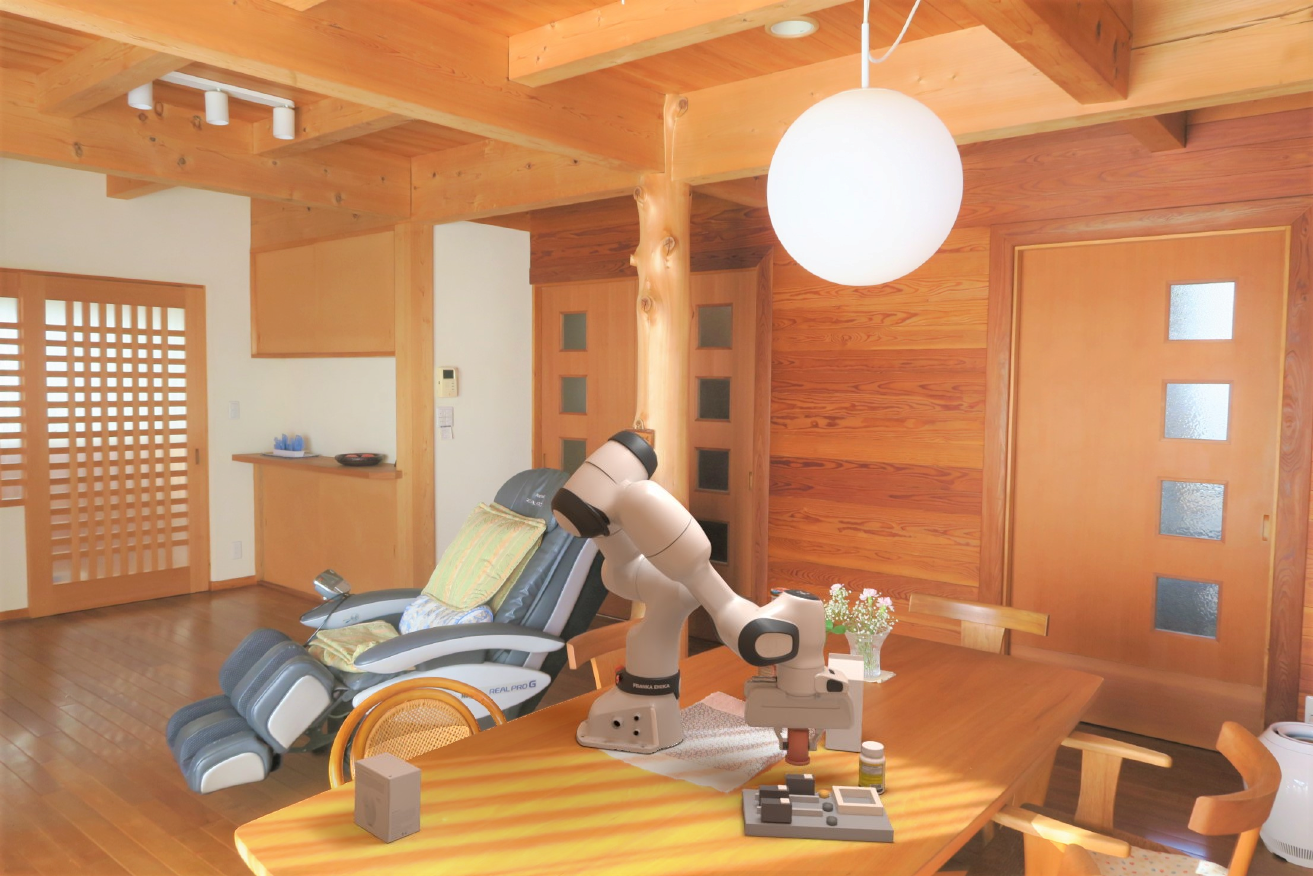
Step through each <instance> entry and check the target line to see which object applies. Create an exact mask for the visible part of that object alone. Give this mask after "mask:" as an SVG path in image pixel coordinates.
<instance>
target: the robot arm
mask: <svg viewBox="0 0 1313 876" xmlns="http://www.w3.org/2000/svg"><path fill="white" fill-rule="evenodd" d="M658 463H659V462H658V456H657V453H656V451H655V450H654V448H653V447H652V446H651V444H650V443H649V442H648V441H647V440H646V439H645V438H644V437H642V436H641V435H640V434H639V433H636V432H635V431H631V430H625V429H624V430H620V431H618V432H617V433H615V434H613V435H612V436H610V437H609V438H608V439H607V441H606V442H605V443H604V444H603V445H601V446H600V447H599V448H598V449H596V450H595V451H593V453H591V454H590V455H589V456H588V457H587V458H586V459H585V460H584V461H583V463H582V464H581V465H580V466H579V467H578V468H577V469H576V471H575V472H574V473H573V474H572V475H571V476H570V477H569V478H568V480H567V481H566V482H565V484H564V485H563V487H559V488H558V490H557V491H556V493H554V496H553V498H552V499H551V501H550V510H551V512H552V515H553V516H554V518H555V521H556V522H557V523H558V525H559V526H560V527H561V528H562V530H564V531H565V532H566V533H568V534H569V535H572V536H574V537H576V538H577V539H582V540H583V539H591V540H592V541H593V542H594V544H595V545H596V546H597V548H598V549H599V552H601V554H602V556H603V557H604V560H603V562H602V565H601V569H600V570H601V571H600V574H601V581H602V584H603V586H604V588H605V589H606V590H608V591H609V592H611V593H613V594H614V595H616V596H619V597H621V598H622V599H625V600H628V601H633V602H637V603H642V604H644V605H645V610H644V615H643V618H642V620H641V621H639V622H637V623H635V624H634V625H632V626H631V627H630V628H629V629H628V631H627V633H626V638H625V666H624V665H623V664H621V663H620V664H618V665H616V666H615V669H614V674H615V681H614V683H615V685H614V686H613V687H611V688H609V689H608V690H607V691H605V692H604V693H602V694H601V695H600V696H598V698H596V699H595V700H594V702H593V703H592V705H591V707H590V709H589V712H588V715H587V719H584V720H583V721H581V722H580V724H579V725H578V728H577V730H576V735H575V736H576V741H577V743H578V744H579V745H580V746H583V747H590V748H591V747H592V748H599V749H606V750H614V749H617V750H616V751H621V750H626V751H625V752H629V751H630V753H637V752H642V753H641V754H646V753H651V754H653V753H652V752H654V753H656V752H658V751H659V749H660V750H662V749H661V748H663V747H667V748H669V747H668V746H671V747H673V746H672V745H674V744H676V743H679V742H680V741H681V740H682V739H683V740H685V737H684V735H685V732H684V729H683V723H682V719H681V711H680V700H679V699H680V696H681V687H682V684H681V683H682V678H681V677H682V676H681V670H680V669H679V661H680V660H679V659H680V657H679V656H680V645H681V644H680V643H681V636H682V630H683V627H684V625H685V623H686V621H687V619H688V617H689V616H690V615H691V614H692V613H693V612H694V611H695V610H697V609H698V608H699V607H700V606H701V607H703V609H704V610H705V611H706V612H707V614H708V616H709V619H710V622H711V623H710V624H711V626H712V629H713V632H714V634H715V637H716V639H717V640H718V641H719V643H721V644H722V645H723V646H725V647H727V648H728V649H730V650H731V651H732V652H733V653H735V654H736V655H737V656H738V657H739V658H740V659H742V660H743V661H744V662H746V663H747V664H748V665H751V666H753V667H757V668H758V667H764V666H770V665H775V664H777V667H776V676H765V677H764V676H762V677H761V676H758V675H752V676H751V677H749V678H747V679H746V680H745V681H744V683H743V696H744V698H745V704H744V711H743V712H744V714H743V715H744V716H743V717H744V722H745V723H746V725H747V726H749V727H750V728H773V732H774V734H775V736H776V738H777V739H778V749H779V751H787V750H788V740H787V737H783V736H782V734H783V729H788V728H808V729H809V730H810V729H811V730H812V729H813V730H814V731H815V733H814V734H813V736H812V737H811V738H809V752H818V743H819V741H821V739H822V737H823V735H824V731H825V730H826V729H846V730H849V729H851V728H852V727H853V725H854V721H855V720H854V706H853V700H852V698H851V696H850V694H849V692H848V691H849V682H848V679H847V678H846V676H845V675H844V674H843V673H842V672H841V671H839V670H836V669H833V668H830V667H828V665H827V666H826V665H825V657H824V646H825V644H826V638H827V637H826V632H827V630H826V629H827V627H826V626H827V624H826V622H827V621H826V611H825V606H824V605H825V604H824V603H823V601H822V600H821V598H820V597H819V596H817V595H816V594H813V593H811V592H808V591H805V590H801V589H793V588H792V589H791V588H788V589H789V590H784V591H783V592H782V594H781V595H780V596H779V597H778V598H776V599H775V600H774V601H772V602H771V601H770V602H768V604H767V603H766V604H765V605H763V606H759V605H758V604H757V603H756V602H755V601H753V600H752V599H750V598H748V597H746V596H744V595H741V594H738V593H736V592H735V591H733V589H732V588H731V587H730V586H729V585H728V584H727V582H726V580H724V579H723V577H721V575H720V574H719V573H718V571H717V570H715V568H714V567H713V565H712V564H711V562H710V557H711V553H712V545H711V542H710V540H709V538H708V536H707V535H706V533H705V531H704V530H703V528H702V527H701V525H700V524H699V523H698V521H697V520H696V519H695V517H694V516H693V515H692V514H691V513H690V512H689V511H688V510H687V509H686V508H685V506H684V505H682V503H681V502H680V501H679V500H677V498H676V497H675V496H673V495H672V494H671V493H670V492H668V491H667V490H666V489H665V488H663V487H662V486H661V485H660V484H659V483H657V482H656V481H654V480H651V478H652V477H653V475H654V473H655V472H656V470H657V469H658V465H659V464H658ZM680 743H681V742H680ZM680 743H679V744H680ZM674 746H675V745H674ZM663 749H664V748H663ZM657 750H658V751H657ZM614 751H615V750H614Z"/></svg>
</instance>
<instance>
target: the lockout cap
mask: <svg viewBox="0 0 1313 876" xmlns="http://www.w3.org/2000/svg"><path fill="white" fill-rule="evenodd" d="M786 738H787V740H788V750H786V754H785V756H784V761H785V763H786V764H788V765H790V766H795V767H805V766H808V765H809V764H811V757H810V756H809V754H810V753H809V752H810V751H809V739H810V728H787V736H786Z"/></svg>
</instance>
